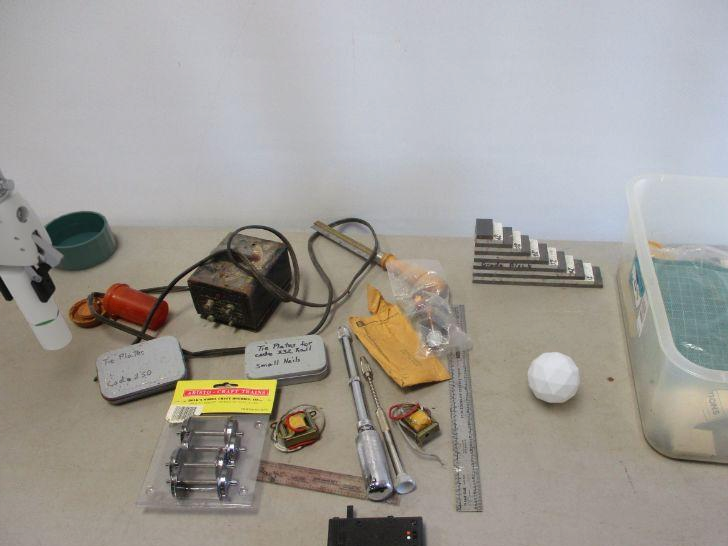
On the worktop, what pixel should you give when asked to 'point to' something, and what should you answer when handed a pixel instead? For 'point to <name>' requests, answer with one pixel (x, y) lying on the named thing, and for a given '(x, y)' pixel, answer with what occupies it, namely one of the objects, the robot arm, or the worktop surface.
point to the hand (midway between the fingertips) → (31, 294)
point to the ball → (553, 377)
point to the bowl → (81, 239)
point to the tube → (36, 309)
